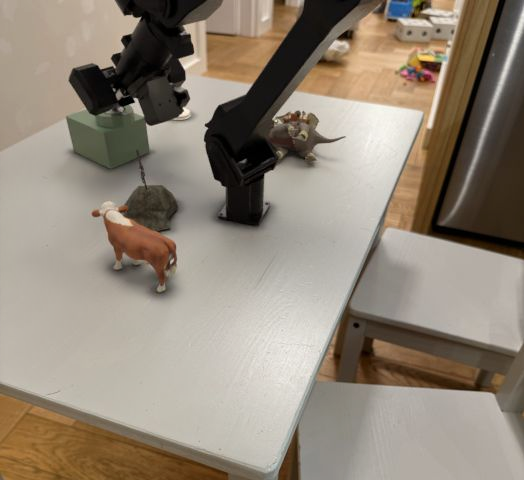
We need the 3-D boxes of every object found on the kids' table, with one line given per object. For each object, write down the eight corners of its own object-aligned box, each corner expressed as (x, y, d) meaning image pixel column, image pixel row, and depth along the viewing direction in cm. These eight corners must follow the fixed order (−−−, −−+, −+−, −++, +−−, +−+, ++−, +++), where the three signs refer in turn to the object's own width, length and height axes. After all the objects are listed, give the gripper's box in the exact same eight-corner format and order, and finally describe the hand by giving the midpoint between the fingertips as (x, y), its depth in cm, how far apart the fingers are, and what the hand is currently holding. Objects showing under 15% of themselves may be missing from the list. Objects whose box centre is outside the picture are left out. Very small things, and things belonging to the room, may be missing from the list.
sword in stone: (130, 197, 79) (117, 119, 70) (180, 199, 79) (173, 122, 70) (116, 233, 72) (100, 151, 63) (171, 235, 72) (162, 153, 63)
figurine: (229, 130, 85) (242, 97, 97) (232, 165, 89) (243, 128, 101) (347, 132, 83) (345, 97, 95) (344, 167, 87) (342, 130, 99)
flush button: (129, 120, 84) (128, 109, 83) (113, 125, 82) (112, 114, 81) (116, 114, 86) (114, 103, 84) (100, 120, 84) (98, 109, 82)
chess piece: (162, 118, 101) (156, 63, 94) (172, 109, 104) (167, 56, 97) (185, 121, 100) (180, 67, 93) (194, 113, 103) (191, 59, 96)
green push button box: (152, 153, 90) (146, 107, 84) (113, 170, 85) (104, 122, 79) (113, 136, 94) (105, 91, 88) (73, 151, 89) (62, 104, 83)
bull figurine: (119, 245, 69) (109, 191, 64) (188, 285, 64) (183, 230, 58) (94, 258, 67) (80, 203, 61) (162, 301, 61) (154, 245, 56)
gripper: (133, 118, 67) (96, 170, 79) (225, 84, 77) (179, 135, 90) (83, 39, 64) (53, 105, 77) (185, 15, 75) (144, 76, 87)
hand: (112, 107), depth 83 cm, fingers closed, pressing on flush button
